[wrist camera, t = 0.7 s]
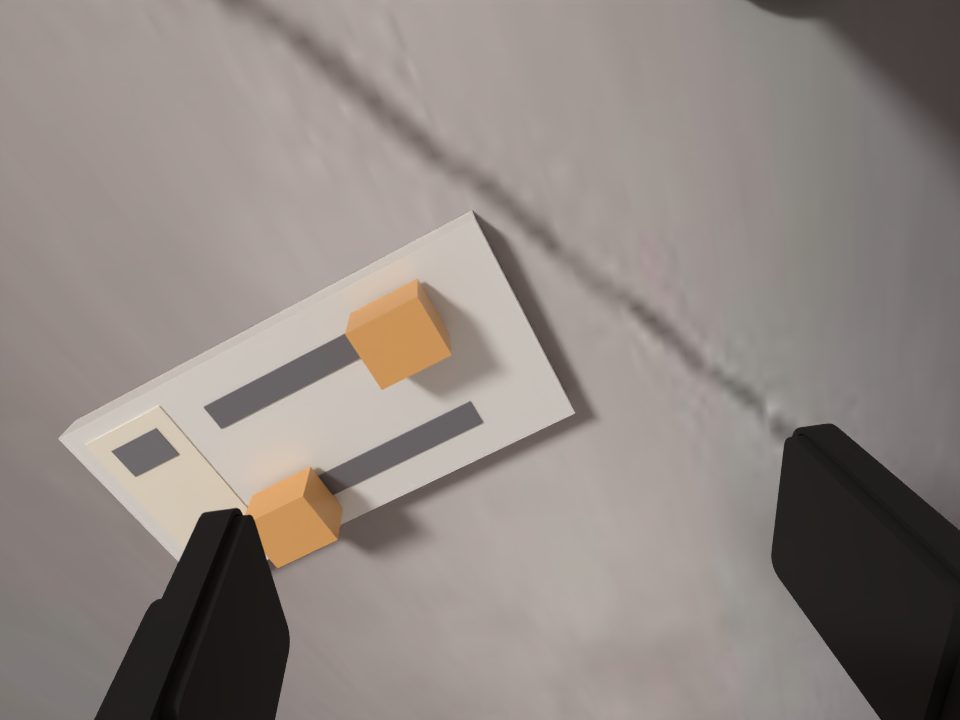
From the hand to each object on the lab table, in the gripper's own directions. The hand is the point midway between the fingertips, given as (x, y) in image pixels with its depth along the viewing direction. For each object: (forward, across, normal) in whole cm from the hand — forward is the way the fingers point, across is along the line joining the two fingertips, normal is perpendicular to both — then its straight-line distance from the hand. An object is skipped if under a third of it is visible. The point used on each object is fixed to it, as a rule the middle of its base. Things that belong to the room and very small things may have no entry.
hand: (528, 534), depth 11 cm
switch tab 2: (+23, +3, +5) cm, 24 cm away
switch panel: (+26, +8, +10) cm, 29 cm away
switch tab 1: (+24, +11, +15) cm, 30 cm away
